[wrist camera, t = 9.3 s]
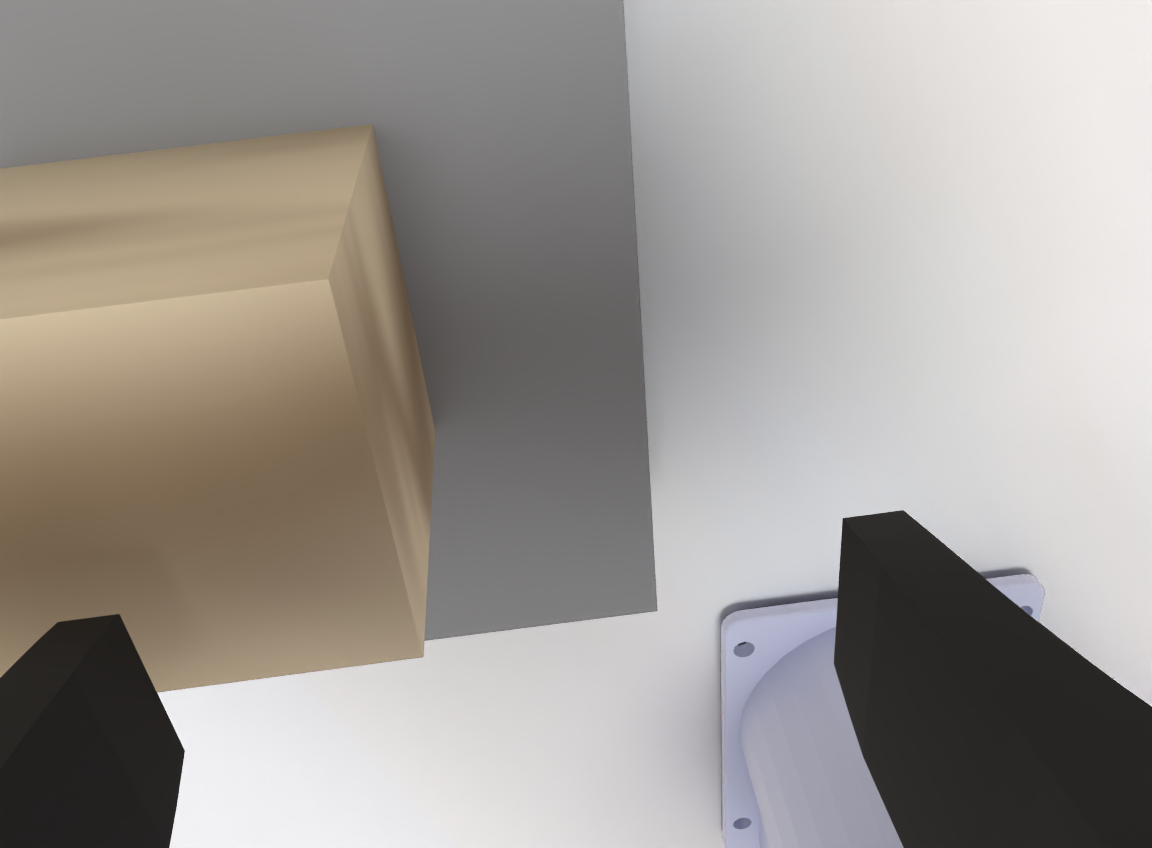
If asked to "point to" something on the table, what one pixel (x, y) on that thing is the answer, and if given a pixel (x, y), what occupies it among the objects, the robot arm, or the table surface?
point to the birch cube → (213, 409)
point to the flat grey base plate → (428, 241)
